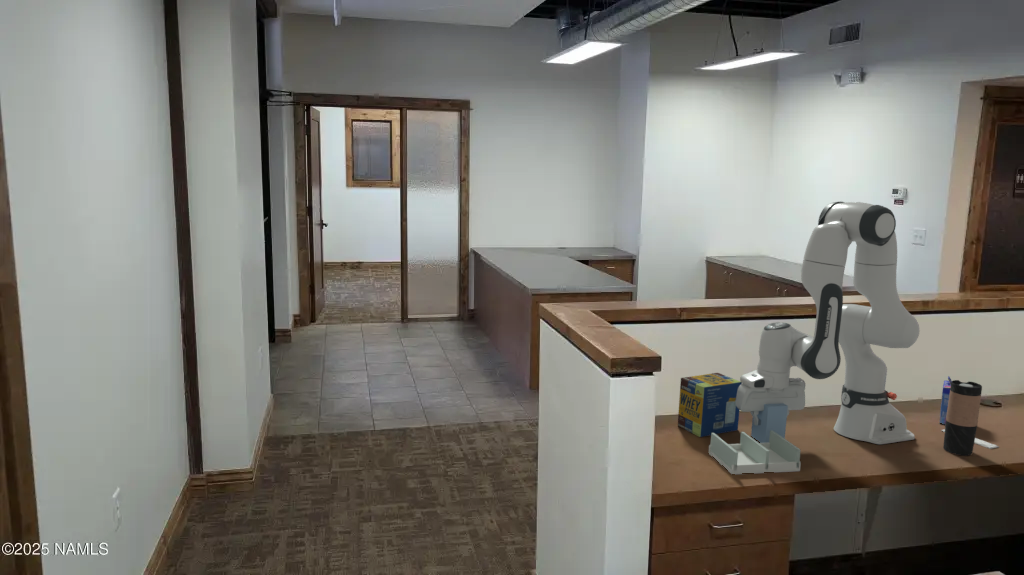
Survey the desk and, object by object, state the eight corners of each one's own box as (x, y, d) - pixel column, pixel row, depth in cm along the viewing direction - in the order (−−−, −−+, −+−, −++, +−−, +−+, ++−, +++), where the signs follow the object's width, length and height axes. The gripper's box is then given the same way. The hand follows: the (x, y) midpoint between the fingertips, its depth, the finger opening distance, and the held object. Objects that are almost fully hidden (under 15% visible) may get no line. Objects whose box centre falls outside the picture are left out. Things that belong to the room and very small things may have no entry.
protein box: (676, 426, 221) (679, 377, 218) (714, 419, 228) (718, 372, 225) (700, 437, 211) (703, 387, 209) (739, 430, 218) (743, 381, 216)
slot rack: (772, 450, 203) (774, 430, 202) (799, 471, 189) (802, 449, 188) (708, 453, 200) (709, 432, 199) (732, 474, 186) (733, 452, 185)
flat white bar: (952, 430, 224) (952, 427, 224) (1000, 448, 211) (1001, 444, 211) (941, 432, 222) (941, 429, 222) (989, 450, 209) (990, 446, 208)
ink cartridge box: (939, 415, 237) (944, 372, 235) (958, 418, 234) (964, 375, 232) (938, 423, 229) (943, 379, 227) (958, 427, 226) (964, 383, 224)
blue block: (769, 435, 214) (773, 397, 212) (784, 445, 207) (787, 405, 205) (751, 436, 213) (754, 397, 211) (764, 446, 206) (768, 406, 204)
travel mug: (961, 457, 201) (970, 389, 198) (936, 447, 208) (944, 381, 205) (979, 454, 204) (988, 386, 201) (953, 444, 211) (962, 378, 208)
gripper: (799, 374, 212) (795, 419, 214) (735, 376, 208) (731, 421, 211) (812, 380, 206) (807, 426, 208) (745, 382, 202) (741, 429, 204)
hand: (768, 424), depth 209 cm, fingers closed on blue block, 6 cm apart
